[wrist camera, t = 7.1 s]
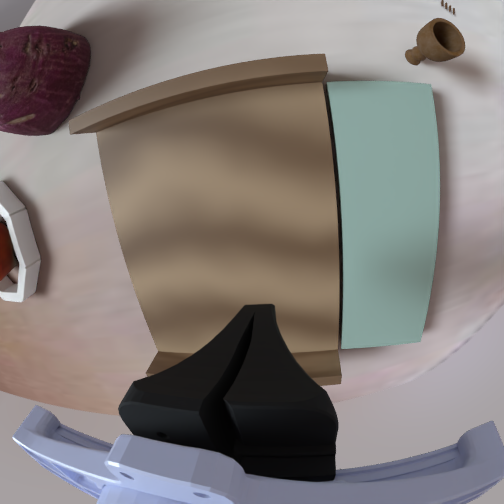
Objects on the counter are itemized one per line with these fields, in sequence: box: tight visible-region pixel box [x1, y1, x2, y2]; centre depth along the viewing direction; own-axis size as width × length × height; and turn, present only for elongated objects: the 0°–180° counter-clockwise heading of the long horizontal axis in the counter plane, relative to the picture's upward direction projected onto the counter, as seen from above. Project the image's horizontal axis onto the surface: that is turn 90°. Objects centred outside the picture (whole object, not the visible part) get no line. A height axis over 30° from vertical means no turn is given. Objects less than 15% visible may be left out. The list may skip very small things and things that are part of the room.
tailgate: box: [326, 81, 440, 349], centre depth 17 cm, size 20×1×7 cm
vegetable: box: [0, 25, 90, 136], centre depth 11 cm, size 10×10×15 cm
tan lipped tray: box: [68, 54, 342, 386], centre depth 18 cm, size 22×16×4 cm
